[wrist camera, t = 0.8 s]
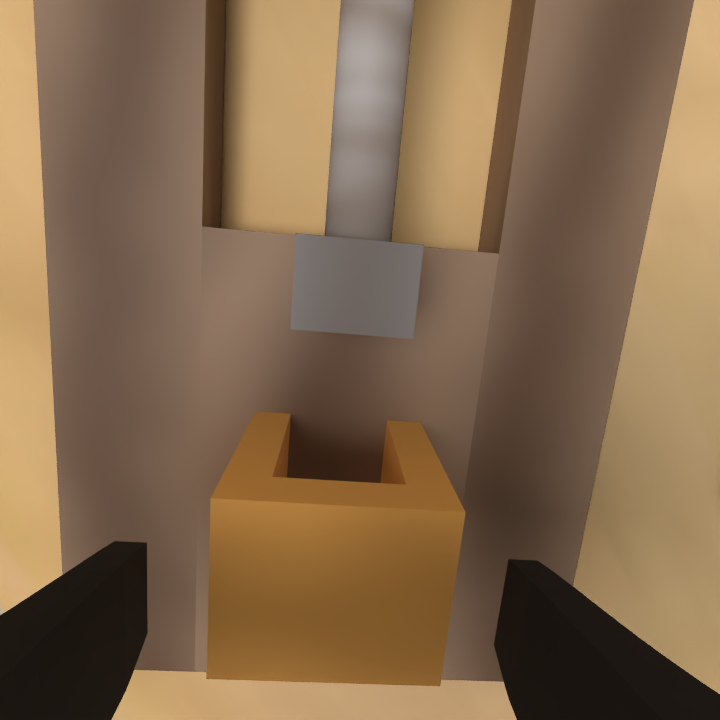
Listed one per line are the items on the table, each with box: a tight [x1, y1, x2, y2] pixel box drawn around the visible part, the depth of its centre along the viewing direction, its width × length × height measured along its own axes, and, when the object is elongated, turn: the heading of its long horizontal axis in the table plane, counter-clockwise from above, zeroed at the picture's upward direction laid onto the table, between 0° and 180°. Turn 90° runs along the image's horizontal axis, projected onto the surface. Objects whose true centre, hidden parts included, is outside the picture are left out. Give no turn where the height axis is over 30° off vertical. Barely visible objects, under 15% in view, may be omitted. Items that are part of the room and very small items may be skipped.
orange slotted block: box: [206, 412, 466, 686], centre depth 12 cm, size 5×4×5 cm
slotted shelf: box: [33, 0, 694, 681], centre depth 12 cm, size 16×24×6 cm, turn 175°
